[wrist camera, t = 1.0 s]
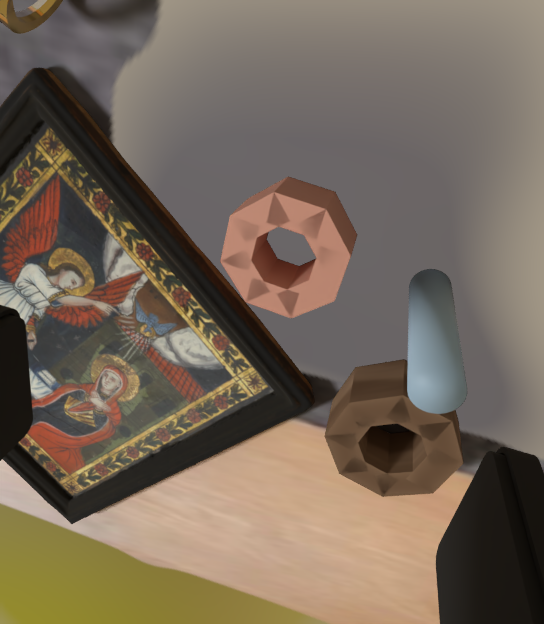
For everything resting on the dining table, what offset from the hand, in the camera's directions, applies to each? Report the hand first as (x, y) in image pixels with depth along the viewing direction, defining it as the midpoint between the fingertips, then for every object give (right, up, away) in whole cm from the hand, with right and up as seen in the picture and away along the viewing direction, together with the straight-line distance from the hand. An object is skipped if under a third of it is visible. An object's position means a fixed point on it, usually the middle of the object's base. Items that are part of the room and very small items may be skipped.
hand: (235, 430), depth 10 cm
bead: (+11, -6, +30) cm, 33 cm away
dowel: (+12, +4, +25) cm, 28 cm away
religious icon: (-18, 0, +37) cm, 41 cm away
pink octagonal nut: (+2, +8, +26) cm, 27 cm away
